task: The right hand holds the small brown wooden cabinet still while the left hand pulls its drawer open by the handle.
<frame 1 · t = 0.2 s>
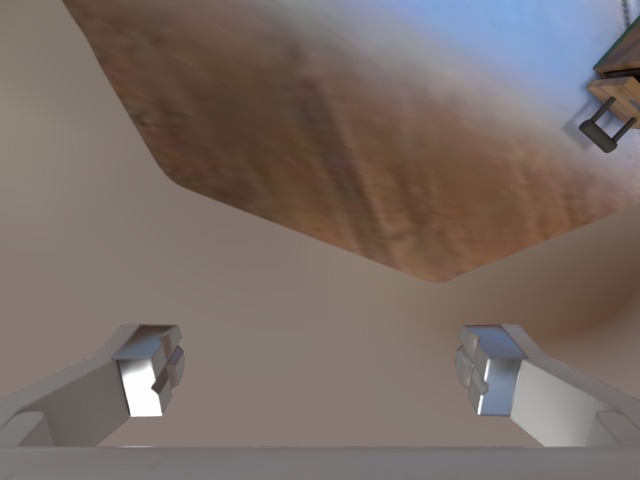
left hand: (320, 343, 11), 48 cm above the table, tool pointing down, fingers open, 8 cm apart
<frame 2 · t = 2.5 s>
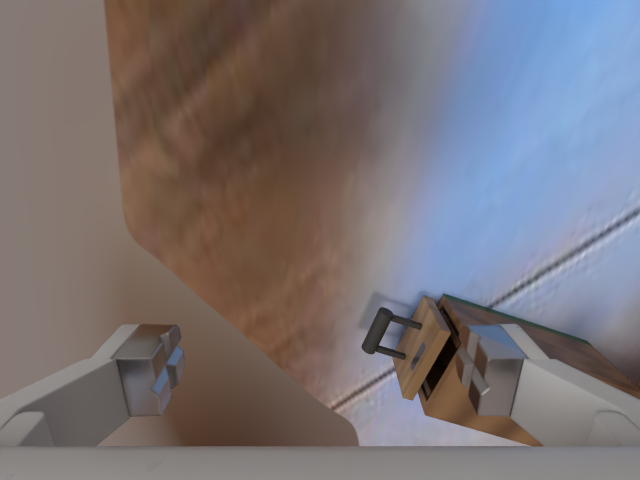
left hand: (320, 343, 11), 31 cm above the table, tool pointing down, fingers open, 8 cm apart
cabinet: (495, 350, 48), on the table
drawer: (467, 361, 43), point 5 cm above the table, slide at 1.5 cm
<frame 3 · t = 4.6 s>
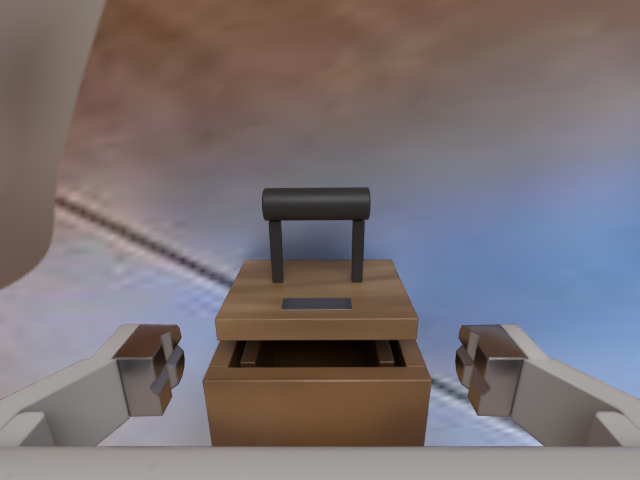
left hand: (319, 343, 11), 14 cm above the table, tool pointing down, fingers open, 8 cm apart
cabinet: (320, 403, 29), on the table, touching right hand
drawer: (318, 383, 23), point 5 cm above the table, slide at 1.5 cm
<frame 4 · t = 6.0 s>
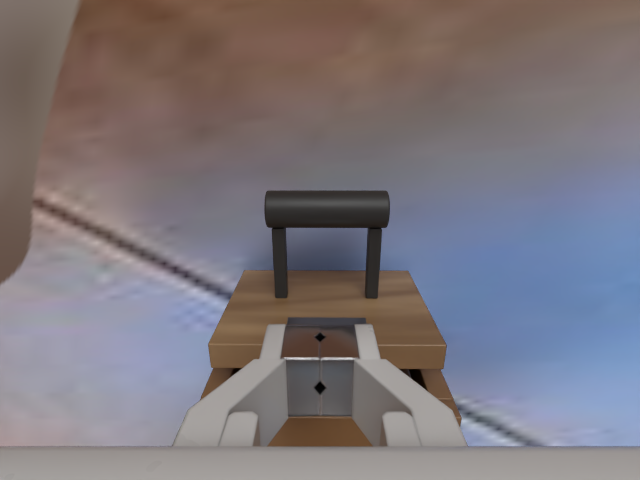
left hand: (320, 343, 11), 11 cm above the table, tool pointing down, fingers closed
cabinet: (325, 425, 26), on the table, touching right hand
drawer: (325, 410, 20), point 5 cm above the table, slide at 1.5 cm
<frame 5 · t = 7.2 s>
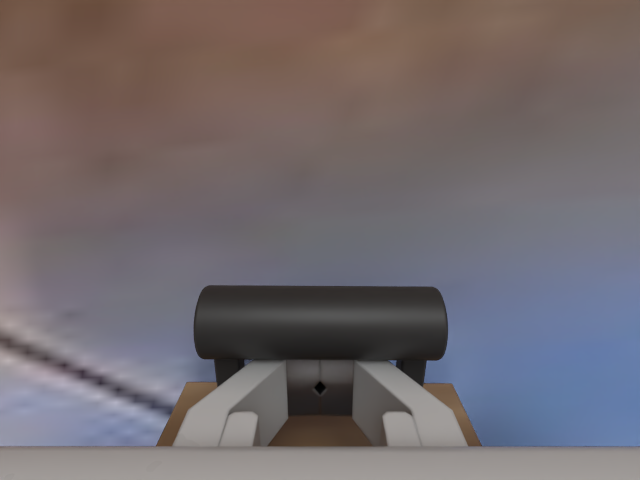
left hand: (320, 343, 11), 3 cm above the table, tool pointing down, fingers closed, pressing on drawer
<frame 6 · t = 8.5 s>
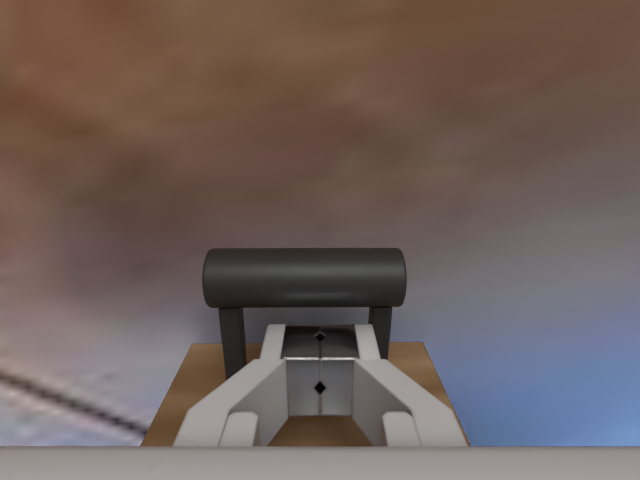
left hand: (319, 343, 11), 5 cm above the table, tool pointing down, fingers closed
when the right hand's fingers open (4 cm above the table, at t = 9.8 s): cabinet stays where it is, on the table.
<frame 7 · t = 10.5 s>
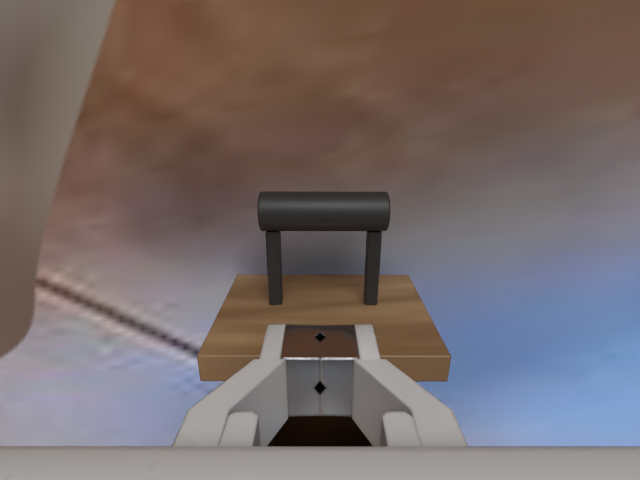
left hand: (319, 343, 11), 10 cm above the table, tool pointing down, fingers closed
drawer: (322, 421, 19), point 5 cm above the table, slide at 6.2 cm
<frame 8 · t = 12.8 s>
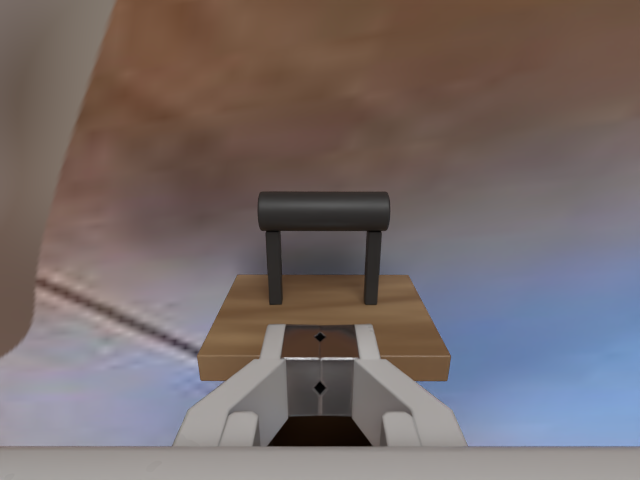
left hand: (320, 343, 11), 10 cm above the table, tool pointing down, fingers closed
drawer: (322, 421, 19), point 5 cm above the table, slide at 6.2 cm
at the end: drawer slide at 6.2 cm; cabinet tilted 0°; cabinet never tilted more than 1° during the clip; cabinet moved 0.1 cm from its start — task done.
